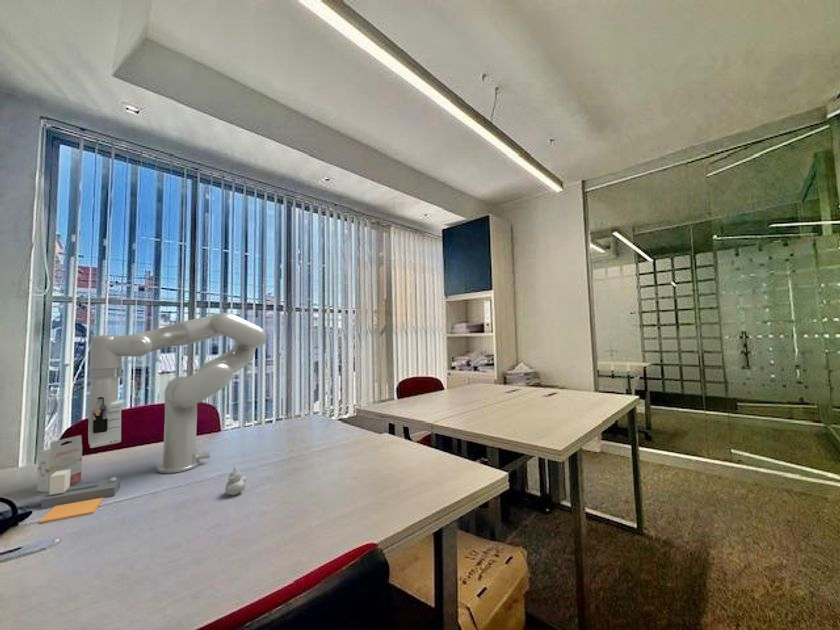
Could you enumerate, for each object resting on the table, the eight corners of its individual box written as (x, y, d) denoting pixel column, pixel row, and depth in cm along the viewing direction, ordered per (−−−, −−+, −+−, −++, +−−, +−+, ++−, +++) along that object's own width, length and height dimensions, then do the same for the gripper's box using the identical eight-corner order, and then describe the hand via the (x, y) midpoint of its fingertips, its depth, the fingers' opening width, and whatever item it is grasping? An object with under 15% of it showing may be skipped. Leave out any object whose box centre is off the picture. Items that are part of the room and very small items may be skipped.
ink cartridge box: (69, 479, 112) (72, 433, 112) (81, 480, 111) (84, 434, 111) (35, 491, 103) (38, 441, 104) (47, 492, 102) (50, 442, 103)
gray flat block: (120, 486, 106) (120, 475, 106) (113, 496, 100) (114, 484, 100) (52, 498, 99) (52, 486, 99) (40, 509, 92) (41, 496, 93)
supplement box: (87, 443, 109) (87, 403, 109) (118, 437, 114) (118, 399, 115) (89, 448, 104) (89, 406, 104) (121, 442, 109) (121, 402, 110)
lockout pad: (103, 499, 98) (103, 497, 98) (93, 513, 90) (93, 511, 90) (54, 508, 93) (54, 506, 93) (39, 523, 85) (39, 521, 85)
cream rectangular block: (69, 487, 99) (70, 469, 100) (64, 492, 96) (65, 474, 96) (55, 489, 98) (56, 471, 98) (49, 495, 94) (50, 476, 95)
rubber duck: (219, 496, 99) (220, 468, 100) (238, 487, 106) (239, 460, 106) (233, 499, 98) (234, 470, 98) (252, 489, 104) (252, 462, 104)
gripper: (99, 372, 116) (97, 424, 115) (80, 377, 100) (78, 438, 100) (127, 370, 119) (126, 420, 119) (113, 375, 104) (112, 433, 103)
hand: (104, 428), depth 109 cm, fingers closed on supplement box, 8 cm apart
